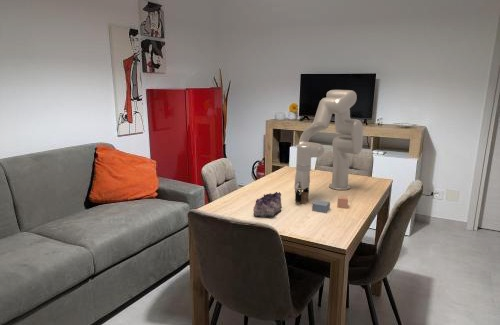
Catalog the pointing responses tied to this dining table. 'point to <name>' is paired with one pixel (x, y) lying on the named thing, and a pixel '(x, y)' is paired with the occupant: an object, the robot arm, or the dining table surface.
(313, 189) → the dining table surface
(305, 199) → the walnut cube
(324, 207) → the blue-grey square box
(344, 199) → the terracotta cube
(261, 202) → the geode
